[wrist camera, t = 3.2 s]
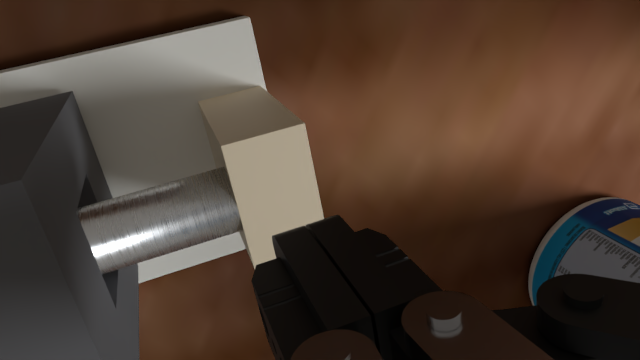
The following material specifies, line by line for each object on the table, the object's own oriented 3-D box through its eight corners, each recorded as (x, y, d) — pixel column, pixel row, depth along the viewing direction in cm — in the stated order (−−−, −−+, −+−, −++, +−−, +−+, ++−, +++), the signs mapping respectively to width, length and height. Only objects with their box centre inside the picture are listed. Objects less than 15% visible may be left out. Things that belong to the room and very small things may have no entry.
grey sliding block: (72, 90, 18) (21, 180, 10) (138, 265, 21) (140, 446, 13) (-25, 113, 17) (-164, 228, 9) (57, 291, 20) (4, 499, 12)
